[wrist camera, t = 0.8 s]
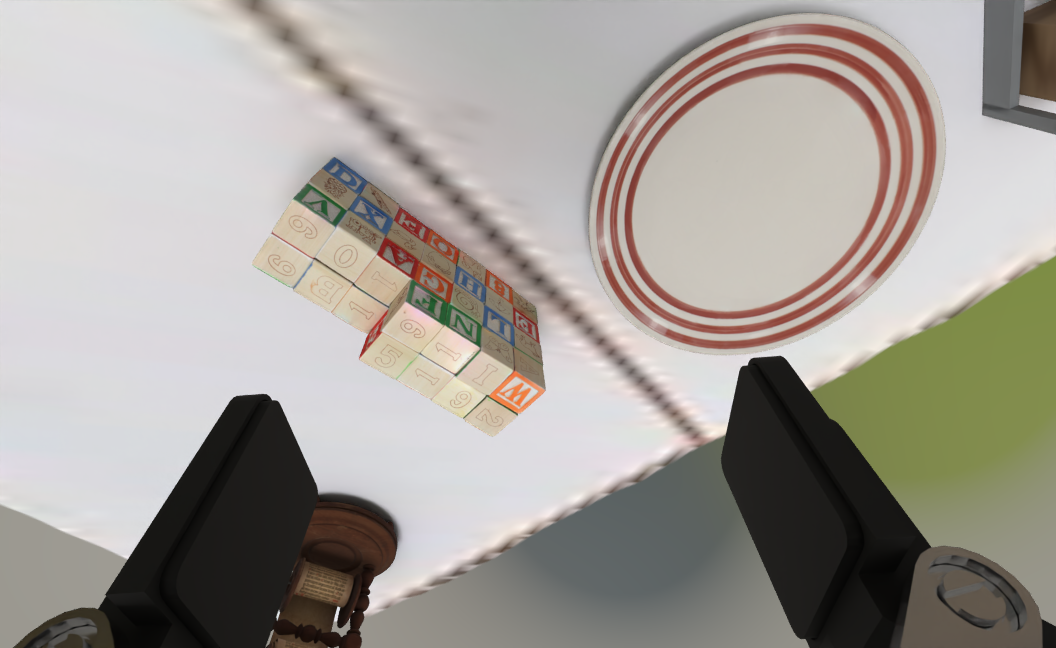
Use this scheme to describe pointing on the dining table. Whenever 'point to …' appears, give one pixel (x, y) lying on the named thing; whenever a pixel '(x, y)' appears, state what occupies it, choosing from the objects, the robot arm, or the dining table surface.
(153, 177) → the dining table surface
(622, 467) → the dining table surface
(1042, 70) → the cube
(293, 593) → the wooden spool stand
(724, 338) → the dinner plate
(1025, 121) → the cage
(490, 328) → the stack of blocks
